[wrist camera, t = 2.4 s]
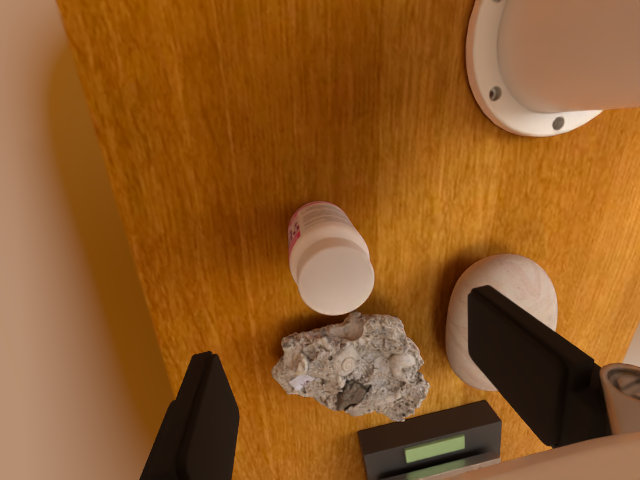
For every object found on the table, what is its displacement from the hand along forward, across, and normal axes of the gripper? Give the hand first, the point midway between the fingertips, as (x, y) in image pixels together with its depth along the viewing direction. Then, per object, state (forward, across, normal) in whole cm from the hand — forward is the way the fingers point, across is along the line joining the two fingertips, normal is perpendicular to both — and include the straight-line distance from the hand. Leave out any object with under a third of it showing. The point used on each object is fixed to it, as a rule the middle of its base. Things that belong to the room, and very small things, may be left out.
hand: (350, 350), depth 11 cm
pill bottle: (+13, -1, 0) cm, 13 cm away
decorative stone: (+13, -14, +10) cm, 22 cm away
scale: (+13, -8, +30) cm, 33 cm away
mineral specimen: (+13, -1, +11) cm, 17 cm away
